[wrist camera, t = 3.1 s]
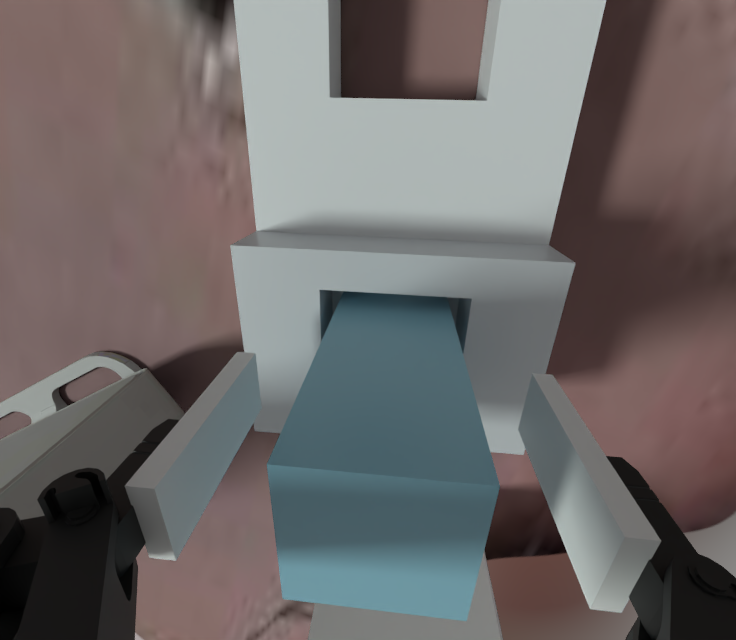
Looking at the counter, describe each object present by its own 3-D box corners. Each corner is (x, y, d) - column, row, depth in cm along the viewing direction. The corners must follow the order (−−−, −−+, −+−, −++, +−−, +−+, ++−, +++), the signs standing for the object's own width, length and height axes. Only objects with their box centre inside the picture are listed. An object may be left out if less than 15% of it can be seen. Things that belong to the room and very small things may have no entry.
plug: (346, 284, 19) (266, 464, 8) (445, 289, 19) (499, 486, 8) (346, 384, 22) (285, 623, 11) (432, 391, 21) (460, 645, 10)
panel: (249, -130, 15) (160, -287, 10) (607, -139, 14) (734, -322, 9) (287, 370, 25) (254, 430, 20) (497, 386, 24) (523, 454, 19)
